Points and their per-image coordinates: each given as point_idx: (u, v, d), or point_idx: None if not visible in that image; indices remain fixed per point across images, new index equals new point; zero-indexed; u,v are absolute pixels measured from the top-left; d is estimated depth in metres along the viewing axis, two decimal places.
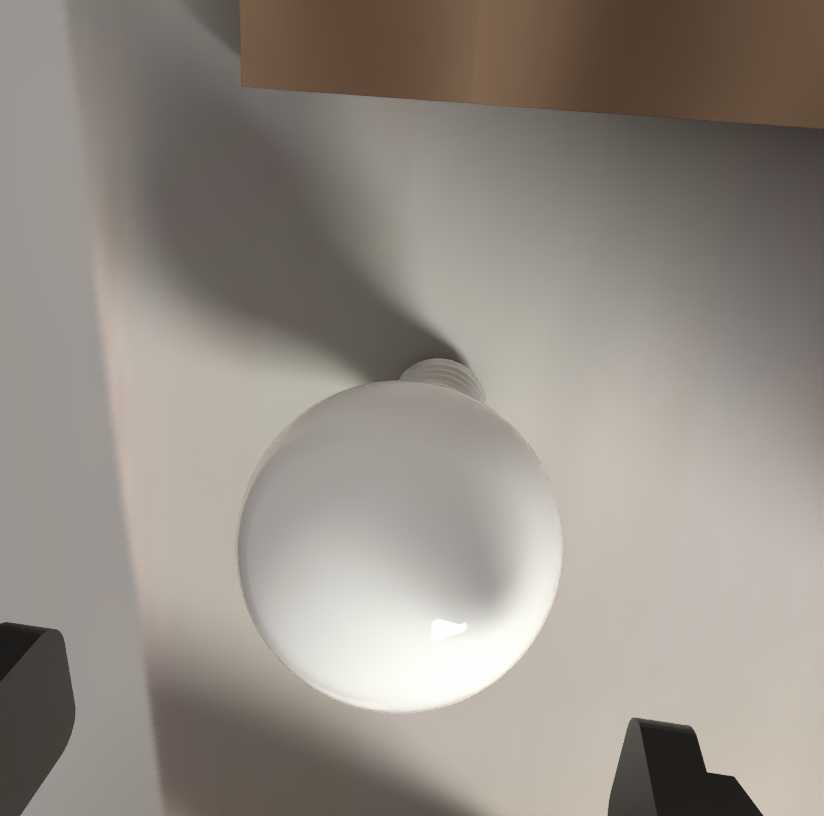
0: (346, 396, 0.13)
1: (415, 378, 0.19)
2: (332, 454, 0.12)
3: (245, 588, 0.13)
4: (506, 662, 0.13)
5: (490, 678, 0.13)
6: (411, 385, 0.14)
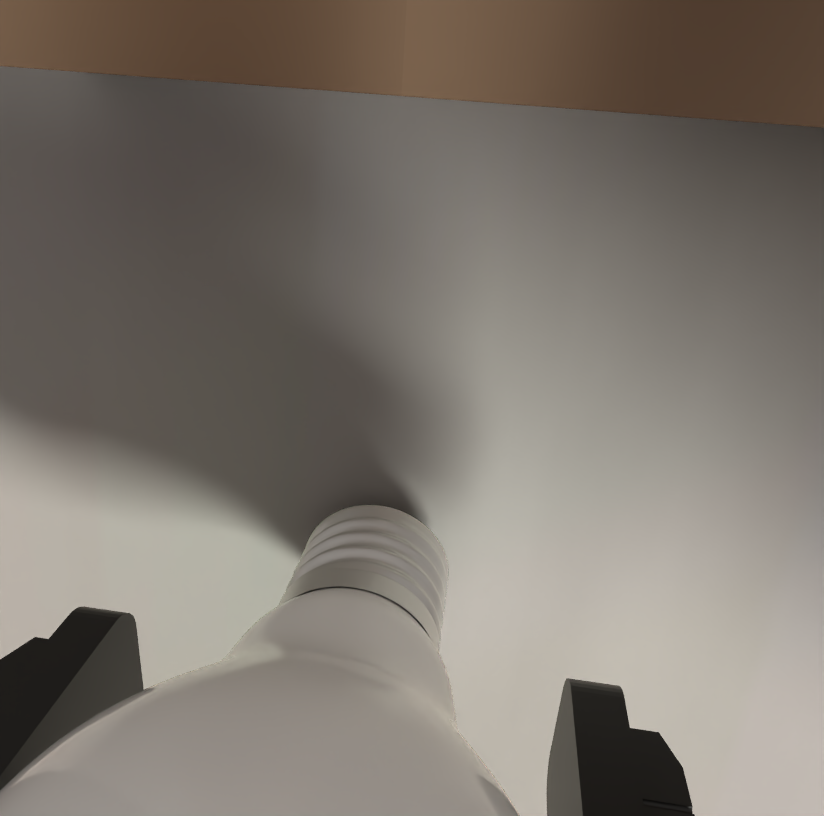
0: (90, 782, 0.06)
1: (328, 553, 0.12)
2: None
3: None
4: None
5: None
6: (246, 743, 0.06)
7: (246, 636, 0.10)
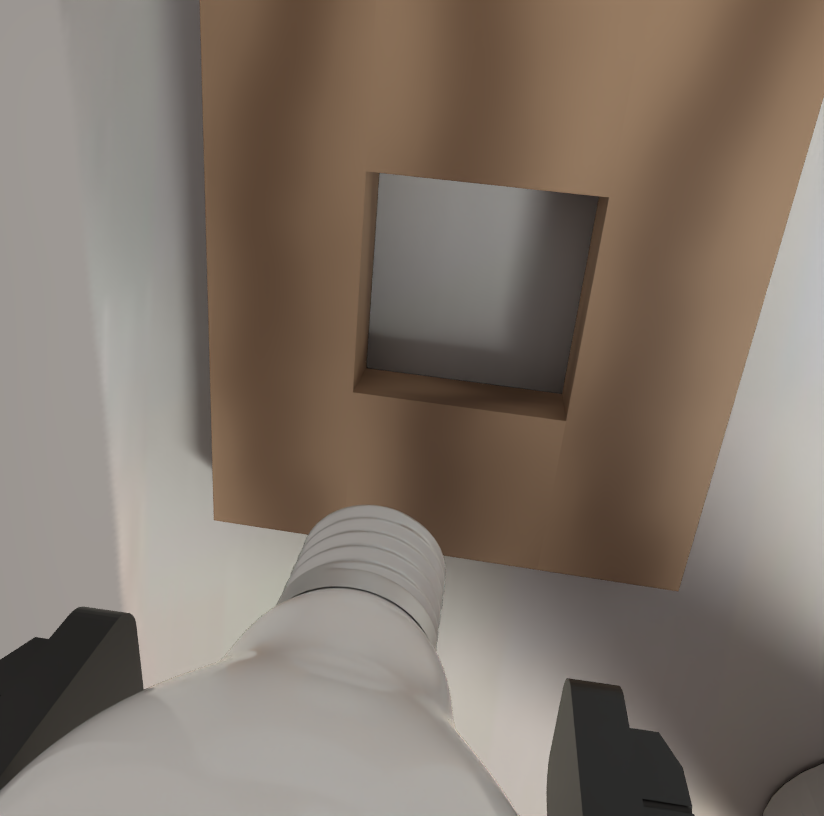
0: (90, 783, 0.06)
1: (326, 553, 0.12)
2: None
3: None
4: None
5: None
6: (246, 744, 0.06)
7: (244, 636, 0.10)
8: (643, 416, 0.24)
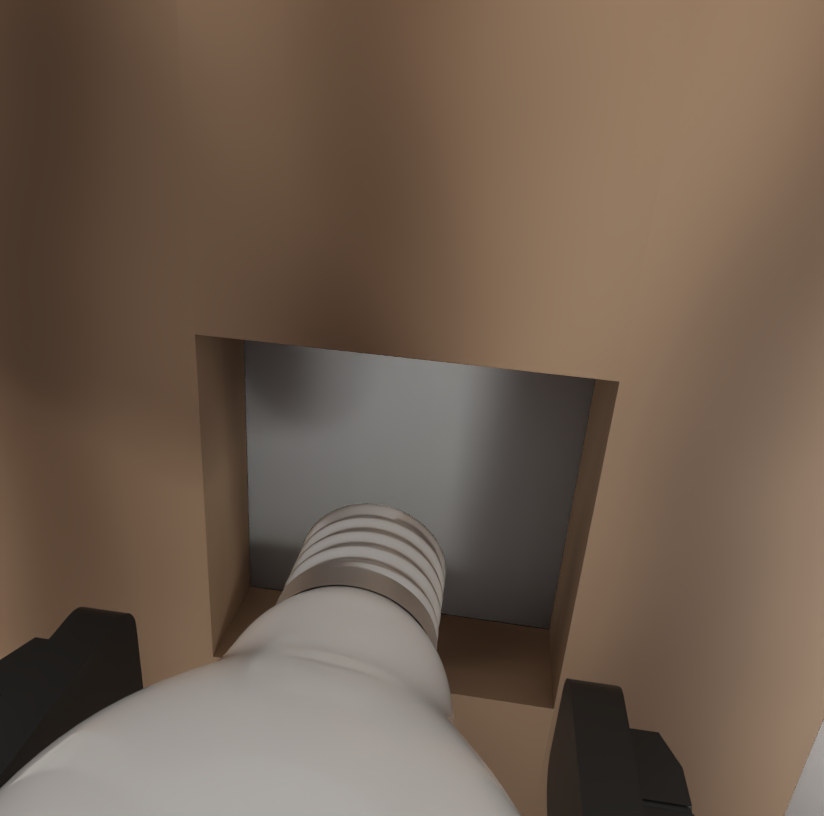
0: (90, 781, 0.06)
1: (326, 551, 0.12)
2: None
3: None
4: None
5: None
6: (247, 741, 0.06)
7: (244, 635, 0.10)
8: (680, 707, 0.15)
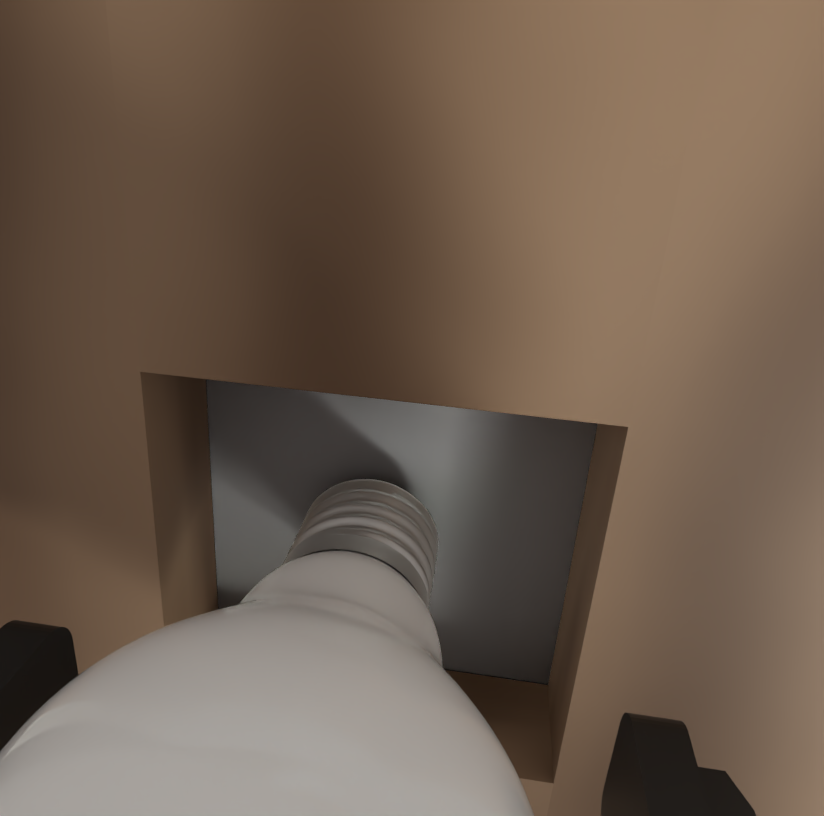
0: (123, 690, 0.07)
1: (326, 521, 0.13)
2: None
3: None
4: None
5: None
6: (258, 660, 0.07)
7: (252, 591, 0.11)
8: None
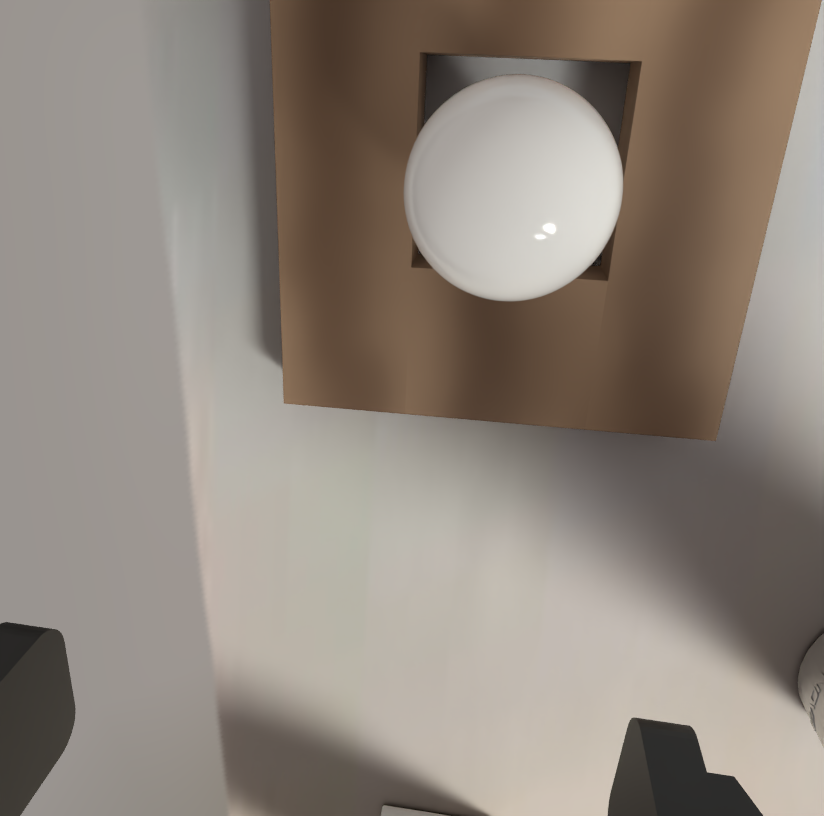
0: (479, 81, 0.20)
1: None
2: (481, 97, 0.19)
3: (420, 200, 0.20)
4: (592, 238, 0.20)
5: (582, 250, 0.20)
6: None
7: None
8: (678, 270, 0.27)
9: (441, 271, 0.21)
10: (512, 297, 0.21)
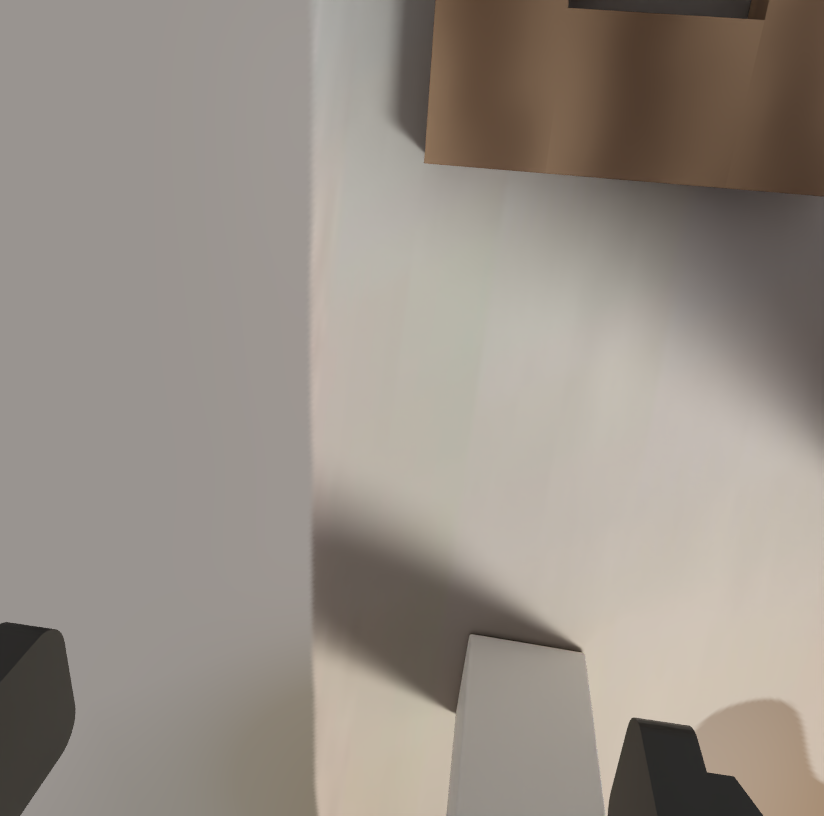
0: None
1: None
2: None
3: None
4: None
5: None
6: None
7: None
8: None
9: None
10: None
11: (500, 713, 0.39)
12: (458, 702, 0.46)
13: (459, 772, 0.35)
